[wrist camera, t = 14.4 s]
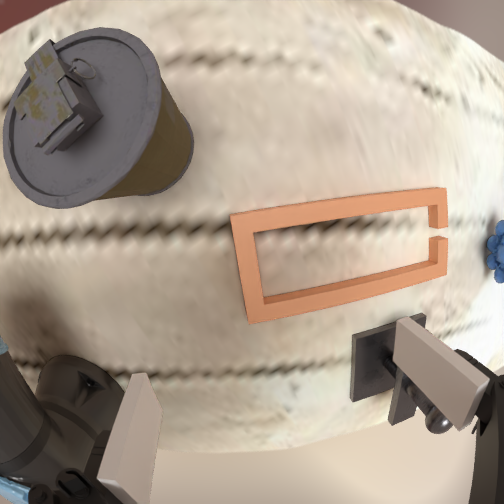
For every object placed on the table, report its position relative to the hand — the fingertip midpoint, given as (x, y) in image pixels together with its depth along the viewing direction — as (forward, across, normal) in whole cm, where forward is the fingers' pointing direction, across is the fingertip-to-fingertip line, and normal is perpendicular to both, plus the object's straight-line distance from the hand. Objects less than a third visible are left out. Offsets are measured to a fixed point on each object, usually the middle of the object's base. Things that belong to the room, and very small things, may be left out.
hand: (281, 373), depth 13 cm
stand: (+19, +19, -18) cm, 32 cm away
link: (+19, +13, 0) cm, 23 cm away
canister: (+20, -8, +15) cm, 26 cm away
